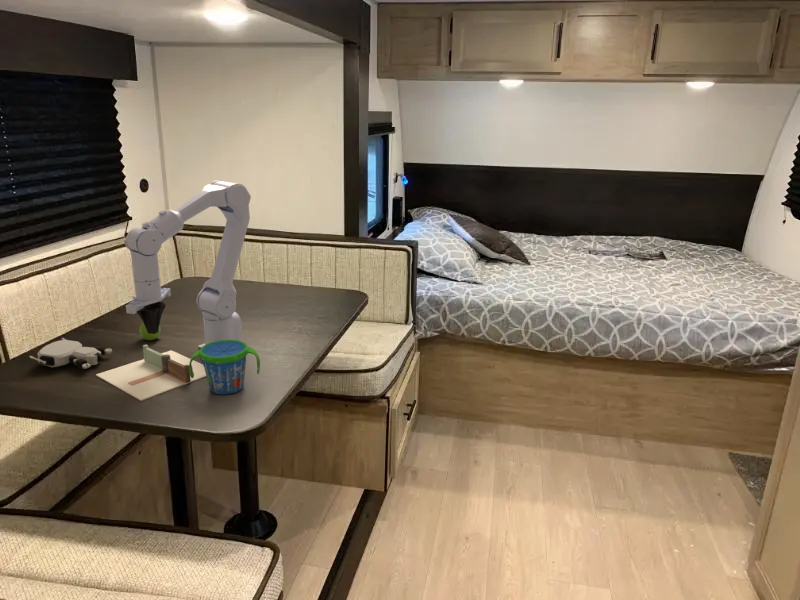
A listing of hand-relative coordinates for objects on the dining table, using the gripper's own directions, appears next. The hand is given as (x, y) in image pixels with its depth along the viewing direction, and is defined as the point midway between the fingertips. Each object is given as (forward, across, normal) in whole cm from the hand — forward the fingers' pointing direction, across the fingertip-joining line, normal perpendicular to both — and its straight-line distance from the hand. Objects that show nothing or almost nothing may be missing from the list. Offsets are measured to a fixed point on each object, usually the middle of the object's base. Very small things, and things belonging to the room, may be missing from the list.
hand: (153, 332), depth 149 cm
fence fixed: (+9, +4, +8) cm, 12 cm away
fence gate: (+9, 0, -1) cm, 9 cm away
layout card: (+9, +3, +2) cm, 10 cm away
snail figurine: (+9, -16, -13) cm, 22 cm away
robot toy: (+10, +4, -21) cm, 23 cm away
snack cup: (+9, +6, +22) cm, 25 cm away
